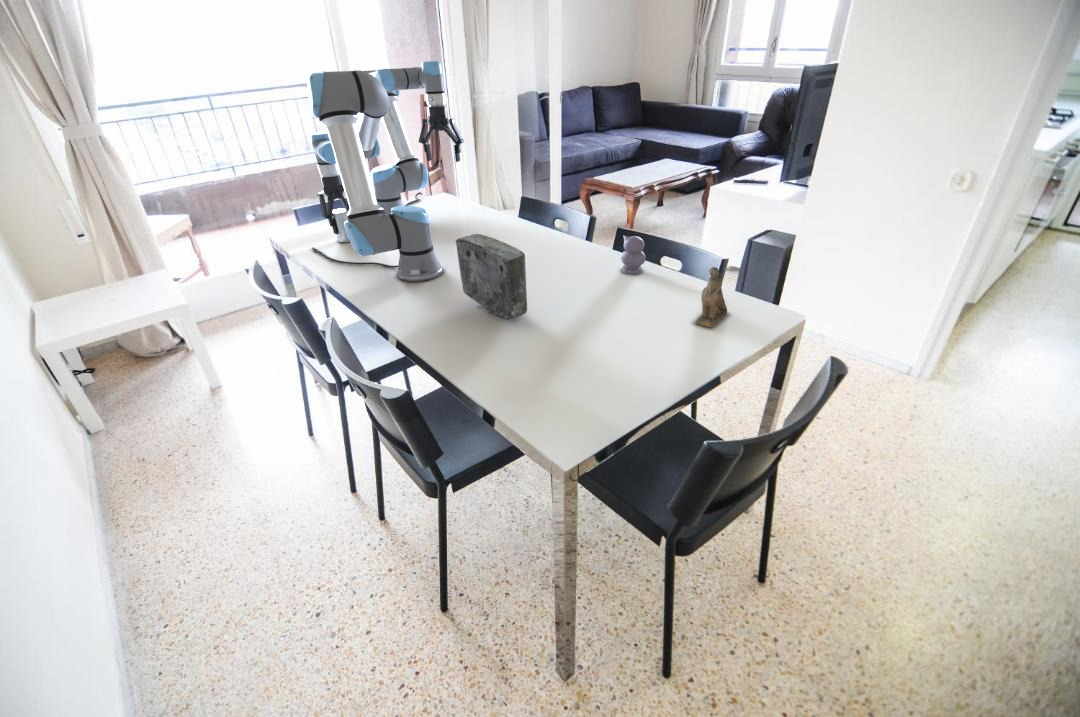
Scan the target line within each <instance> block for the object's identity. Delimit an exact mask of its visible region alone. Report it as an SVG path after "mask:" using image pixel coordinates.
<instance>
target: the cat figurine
mask: <svg viewBox="0 0 1080 717" xmlns="http://www.w3.org/2000/svg"><path fill="white" fill-rule="evenodd" d="M623 249H624V250H623V252H622V253H621V255H620V260H621V262H622V264H623V265H622V273H624V274H628V275H637V274H640V273H642V265H644V264H645V262H646V254H645V253H644V252H643V251H644V249H645V242H644V239H642V238H641V236H637V235H631V236H627V235H624V234H623Z"/></svg>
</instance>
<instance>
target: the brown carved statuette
mask: <svg viewBox="0 0 1080 717" xmlns="http://www.w3.org/2000/svg"><path fill="white" fill-rule="evenodd" d="M708 273H709V275H710V276H709V278H708V279H707V280H708V281H707V284H706V286H705V287H704V288H703V290H702V292H701V297H700V298H701V309H702V312H701V315H700V316H699V317H698V318H697V319H696V321H695V324H696V325H699V326H703V327H705V328H712V327H714V326H715V325H716V324H717V323H719V321H721V320H722V319H723V318H725V317H726V316H727V315H728V307H727V304H726V301H725V298H724V293H723V290H722V287H723V281H722V279H721V278H720V270H719V269H718V268H717V267H715V266H712V267H711V268H710V269H709V270H708Z"/></svg>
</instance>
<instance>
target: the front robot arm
mask: <svg viewBox="0 0 1080 717" xmlns="http://www.w3.org/2000/svg"><path fill="white" fill-rule="evenodd" d="M364 71H365V70H357V69H356V70H341V71H321V72H313V73H312V72H311V73H310V74H309V75H308V77H307V80H306V81H307V82H306V84H307V85H306V86H307V98H308V104H309V109H310V113H311V116H312V117H313V118H316V119H317V118H318V120H319V123H320V125H321V126H323V127H324V128H325V129H326V130H327V131H320V132H319V131H317V132H313V133H311V134H310V141H311V145H312V149H313V152H314V156H315V160H316V165H317V169H318V172H319V175H320V181H321V184H322V191H321V192H317V193H316V195H317V197H318V200H319V205H320V210H321V215H322V216H321V217H322V218H324V219H327V220H328V223H329V226H330V227H332V231H333V234H335V235H337V234H338V230H337V226H336V222H335V219H334V218H333V210H334V202H335V200H337V199H338V200H339V201H340V203H341V205H342V206H343V207H344V208H343V209H347V212H348V214H347V217H348V220H347V221H346V222H345V223H344V226H345V229H346V233H347V235H348V238H349V240H350V241H349V242H350V244H351V246H352V247H353V249H354V251H355V252H356V253H357V254H358V255H359V256H361V257H366V256H375V255H378V254H383V253H387V252H393V251H396V250H398V251H399V259H398V265H389V264H385V263H381V262H373V261H368V262H366V261H365V262H360V261H359V262H357V261H345V260H339V259H335V258H332V257H330V256H328V255H326V254H325V253H324V252H322V251H321V250H319V249H317V248H315V247H314V246H313V247H311V250H313V251H315V252H317V253H319V254H320V255H322V256H323V257H324V258H326V259H328V260H330V261H333V262H335V263H339V264H347V265H375V266H382V267H385V268H391V269H396V268H397V276H398V278H399V279H400V280H402V281H406V282H413V283H414V282H425V281H429V280H432V279H435V278H438V277H439V276H440V275H441V274H442V273H443V268H442V264H441V263H440V260H439V259H438V256H437V254H436V252H435V250H434V243H433V236H432V230H431V229H432V228H431V221H430V217H429V214H428V210H426V209H425V208H423V207H419V206H415V205H408V206H397V207H393V208H392V210H391V214H385V212H384V209H383V208H382V207H381V206H379V205H378V204H377V201H376V197H375V193H374V188H373V183H372V178H371V174H370V172H369V168H368V164H367V160H366V159H372V158H377V157H379V156H380V155H381V147H380V142H379V140H378V138H377V137H378V136H379V135H378V134H379V132H380V127H381V123H382V121H383V120H382V117H384V116H385V115H386V113H387V110H388V107H389V98H388V94H387V91H386V89H385V87H384V86H383V85H382V83H381V82H380V81H379V80H378V79H377V78H376V77H374V76H373V75H371V74H369V73H367V72H364ZM344 193H345V195H346V198H345V195H344ZM325 195H326V196H325ZM325 197H327V203H326V198H325ZM346 200H347V201H346ZM326 204H327V205H326Z"/></svg>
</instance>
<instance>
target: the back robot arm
mask: <svg viewBox="0 0 1080 717" xmlns="http://www.w3.org/2000/svg"><path fill="white" fill-rule="evenodd" d="M363 71H364V72H367V73H369V74H371V75H373V76H374V77H376V78H377V79H378V80H379V81H380V82H381V83H382V85H383V86H384V87H385V89H386V91H387V94H388V98H389V107H388V110H387V113H386V115H385V116H384V117H382V120H381V121H382V123H383V125H384V128H385V132H386V134H387V137H388V140H389V143H390V145H391V149H392V152H393V154H394V158H395V162H394V164H392V163H388V164H383V165H379V166H376V167H374V168H373V169H371V171H370V179H371V182H372V186H373V190H374V193H375V197H376V201H377V204H378V205H379V206H381V207H382V208H383V209H384V212H385V214H391V210H392V208H393V207H397V206H410V205H411V204H414V203H416V202H418V201H419V198H418V196H419V195H420V196H422V195H423V192H417V193H416V194H415V195H414V199H415V200H412V201H409V202H407V203H406V204H405V203H404V202H403V201H402V195H401V194H403V193H407V192H412V191H419V190H421V189H424V188H426V186H427V185H428V181H429V172H428V168H427V166H426V165H425V164H424V163H423V162H420V161H419V157H417V156H415V155H414V152H413V149H412V146H411V143H410V140H409V137H408V134H407V130H406V128H405V126H404V122H403V120H402V117H401V113H400V110H399V107H398V105H397V103H398V101H399V98H398V97H399V96H400V91H406V90H419V89H421V90H422V89H423V90H424V92H425V99H426V105H427V113H428V118H422V126H421V130H420V134H419V137H418V143H419V144H422V145H423V150H424V153H425V154H426V161H427V162H430V161H432V160H433V156H432V150H431V143H429V142H430V140H431V138H432V136H433V135H434V133H435V132H442V131H444V133H446V134H447V136H448V137H449V138H450V140H451V141H452V142H453V143H454V145H453V149H454V159H455V163H458V162H460V161H461V155H460V154H461V153H462V148H461V144H463V143H465V139H464V137H463V135H462V134H461V131H460V130H459V128H458V125H457V124H456V119H455V118H454V117H452V118H449V119H448V110H447V106H446V104H447V100H446V94H445V84H444V76H443V70H442V64H441V62H440V61H438V60H435V61H433V60H432V61H422V63H421V67H420V66H414V67H401V68H381V69H374V70H363ZM448 124H449V125H450V126H449V125H448ZM429 125H430V127H429ZM428 127H429V129H428ZM450 127H451V128H450Z"/></svg>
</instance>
